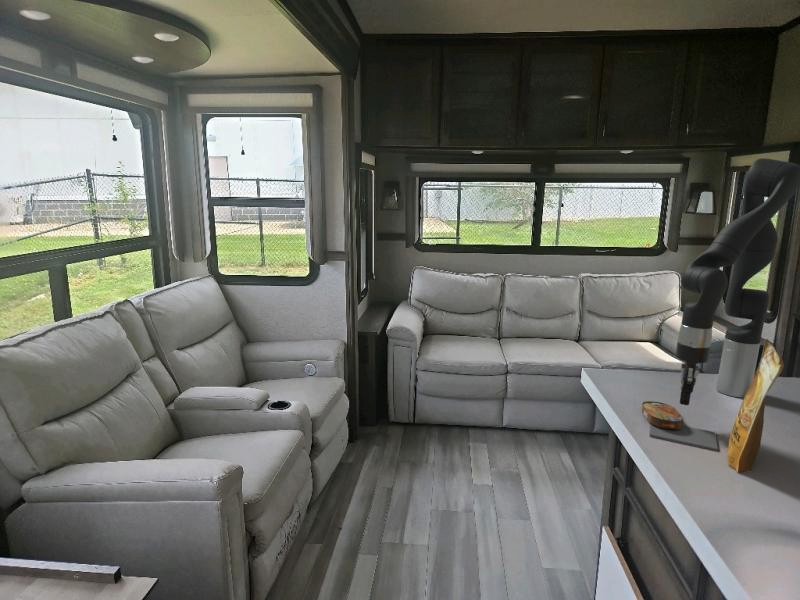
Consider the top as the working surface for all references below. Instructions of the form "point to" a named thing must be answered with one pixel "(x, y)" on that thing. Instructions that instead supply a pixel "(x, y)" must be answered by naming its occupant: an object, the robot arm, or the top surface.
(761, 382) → the pancake mix bag
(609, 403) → the top surface
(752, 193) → the robot arm
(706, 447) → the mat
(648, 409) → the tin
